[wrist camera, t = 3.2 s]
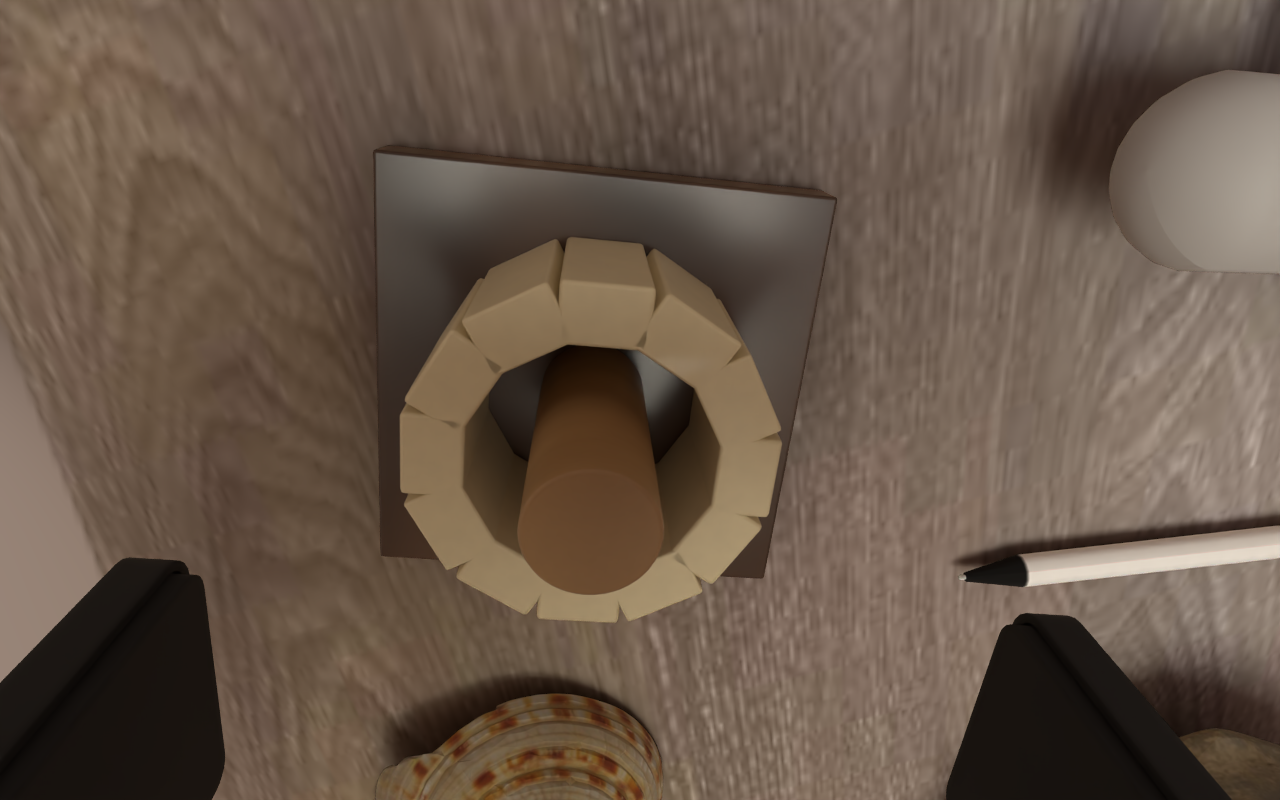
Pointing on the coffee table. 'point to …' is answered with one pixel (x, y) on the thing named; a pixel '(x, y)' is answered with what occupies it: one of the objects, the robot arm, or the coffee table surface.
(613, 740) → the seashell
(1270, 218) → the clip-on lamp
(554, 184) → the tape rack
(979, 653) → the coffee table surface
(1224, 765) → the bowl
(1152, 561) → the pen
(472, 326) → the segmented block ring
